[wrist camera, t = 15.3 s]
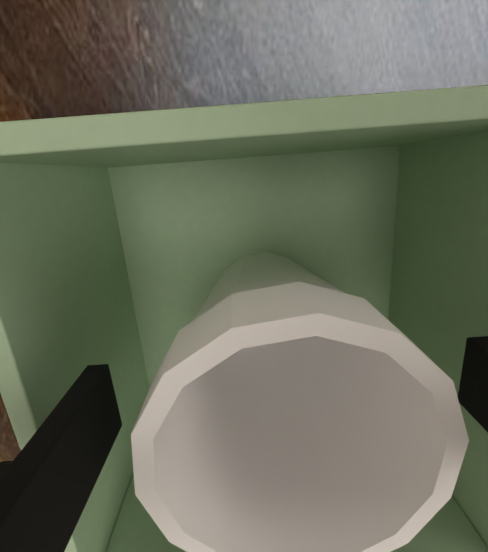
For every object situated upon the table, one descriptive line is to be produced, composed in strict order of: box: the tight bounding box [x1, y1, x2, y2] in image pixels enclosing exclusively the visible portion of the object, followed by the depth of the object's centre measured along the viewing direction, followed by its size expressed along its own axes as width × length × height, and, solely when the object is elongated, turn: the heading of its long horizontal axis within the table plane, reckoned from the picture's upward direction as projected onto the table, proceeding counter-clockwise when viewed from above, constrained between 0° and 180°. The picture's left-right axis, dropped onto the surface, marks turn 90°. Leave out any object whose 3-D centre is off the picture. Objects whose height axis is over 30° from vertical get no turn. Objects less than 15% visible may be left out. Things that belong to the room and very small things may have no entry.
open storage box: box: [0, 85, 488, 552], centre depth 17 cm, size 19×19×12 cm
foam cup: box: [131, 252, 469, 552], centre depth 15 cm, size 10×9×13 cm
